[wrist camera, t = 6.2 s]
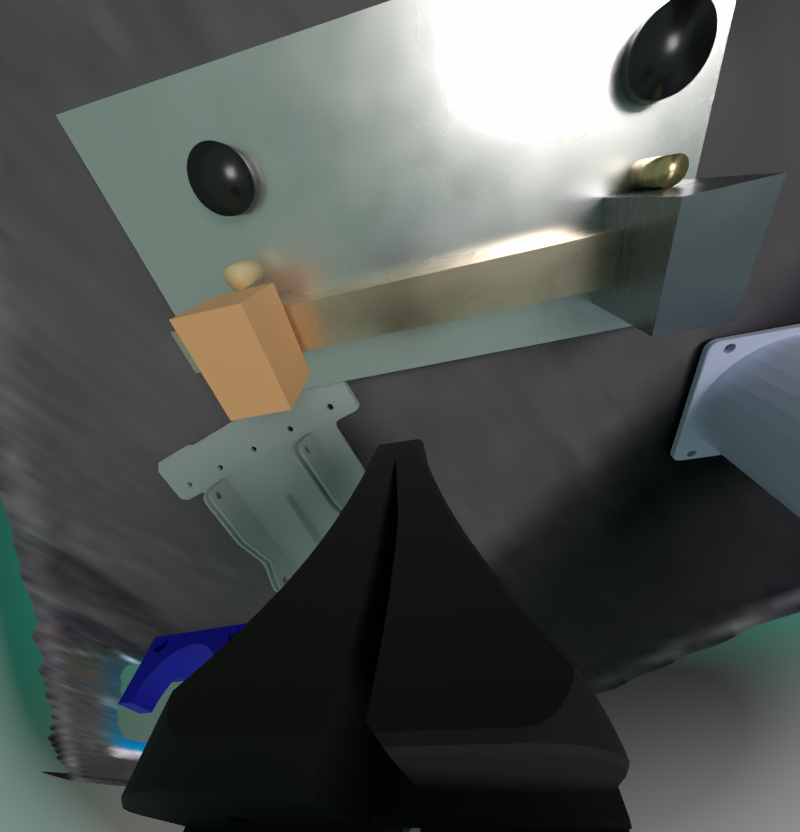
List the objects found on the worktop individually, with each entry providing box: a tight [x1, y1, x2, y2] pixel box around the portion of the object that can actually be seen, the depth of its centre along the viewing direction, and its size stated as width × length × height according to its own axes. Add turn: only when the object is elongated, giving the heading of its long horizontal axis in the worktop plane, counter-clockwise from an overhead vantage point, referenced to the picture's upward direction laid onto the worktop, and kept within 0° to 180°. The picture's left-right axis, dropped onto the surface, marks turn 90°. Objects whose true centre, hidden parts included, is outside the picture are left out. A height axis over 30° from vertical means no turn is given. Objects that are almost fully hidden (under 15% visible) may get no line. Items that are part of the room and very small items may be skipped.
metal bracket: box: [158, 381, 365, 592], centre depth 22 cm, size 14×6×15 cm
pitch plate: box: [56, 0, 787, 389], centre depth 12 cm, size 22×12×6 cm, turn 102°
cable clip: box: [118, 624, 246, 713], centre depth 34 cm, size 12×4×6 cm, turn 108°
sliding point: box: [170, 259, 310, 421], centre depth 13 cm, size 2×5×4 cm, turn 12°
